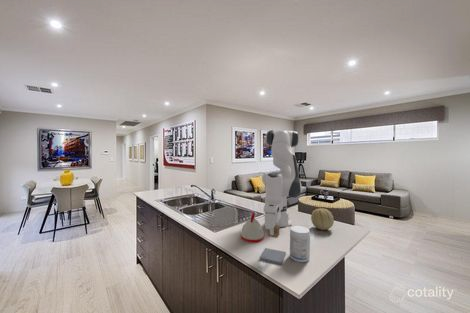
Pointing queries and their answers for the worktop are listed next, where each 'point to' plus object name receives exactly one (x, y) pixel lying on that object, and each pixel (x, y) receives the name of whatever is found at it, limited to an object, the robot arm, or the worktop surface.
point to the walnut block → (276, 232)
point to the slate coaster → (272, 256)
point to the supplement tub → (300, 243)
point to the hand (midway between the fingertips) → (273, 232)
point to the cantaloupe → (322, 218)
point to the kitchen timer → (252, 231)
